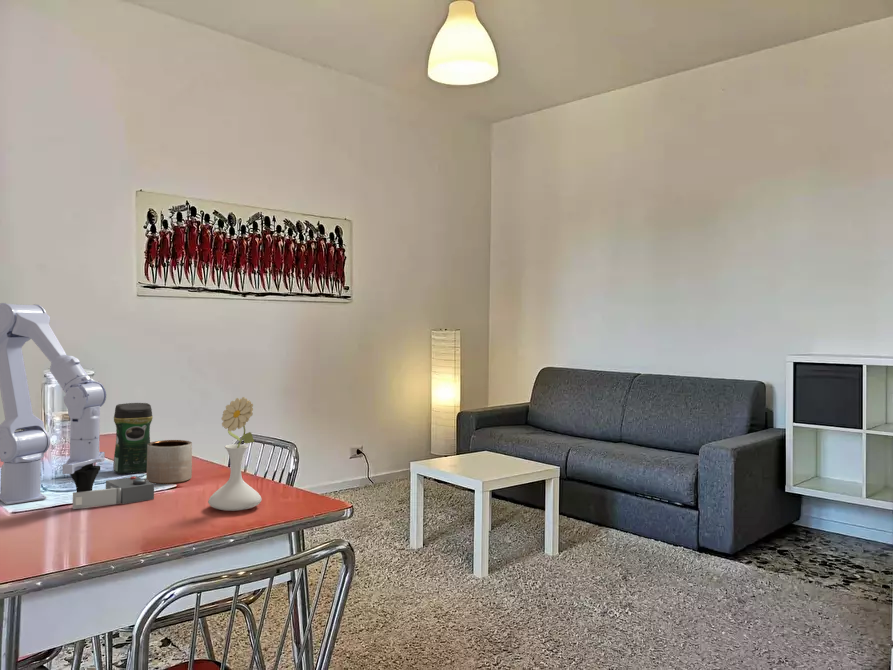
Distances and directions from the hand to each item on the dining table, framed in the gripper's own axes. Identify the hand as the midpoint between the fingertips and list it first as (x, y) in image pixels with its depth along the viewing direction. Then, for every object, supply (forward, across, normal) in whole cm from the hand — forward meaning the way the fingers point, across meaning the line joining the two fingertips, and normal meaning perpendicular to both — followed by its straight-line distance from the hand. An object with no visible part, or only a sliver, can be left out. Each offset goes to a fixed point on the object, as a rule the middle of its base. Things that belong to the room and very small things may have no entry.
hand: (84, 499), depth 151 cm
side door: (+1, 0, -3) cm, 3 cm away
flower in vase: (+2, 0, -33) cm, 33 cm away
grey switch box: (+2, +9, -6) cm, 11 cm away
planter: (+2, +27, -8) cm, 28 cm away
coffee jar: (+2, +36, +5) cm, 37 cm away
